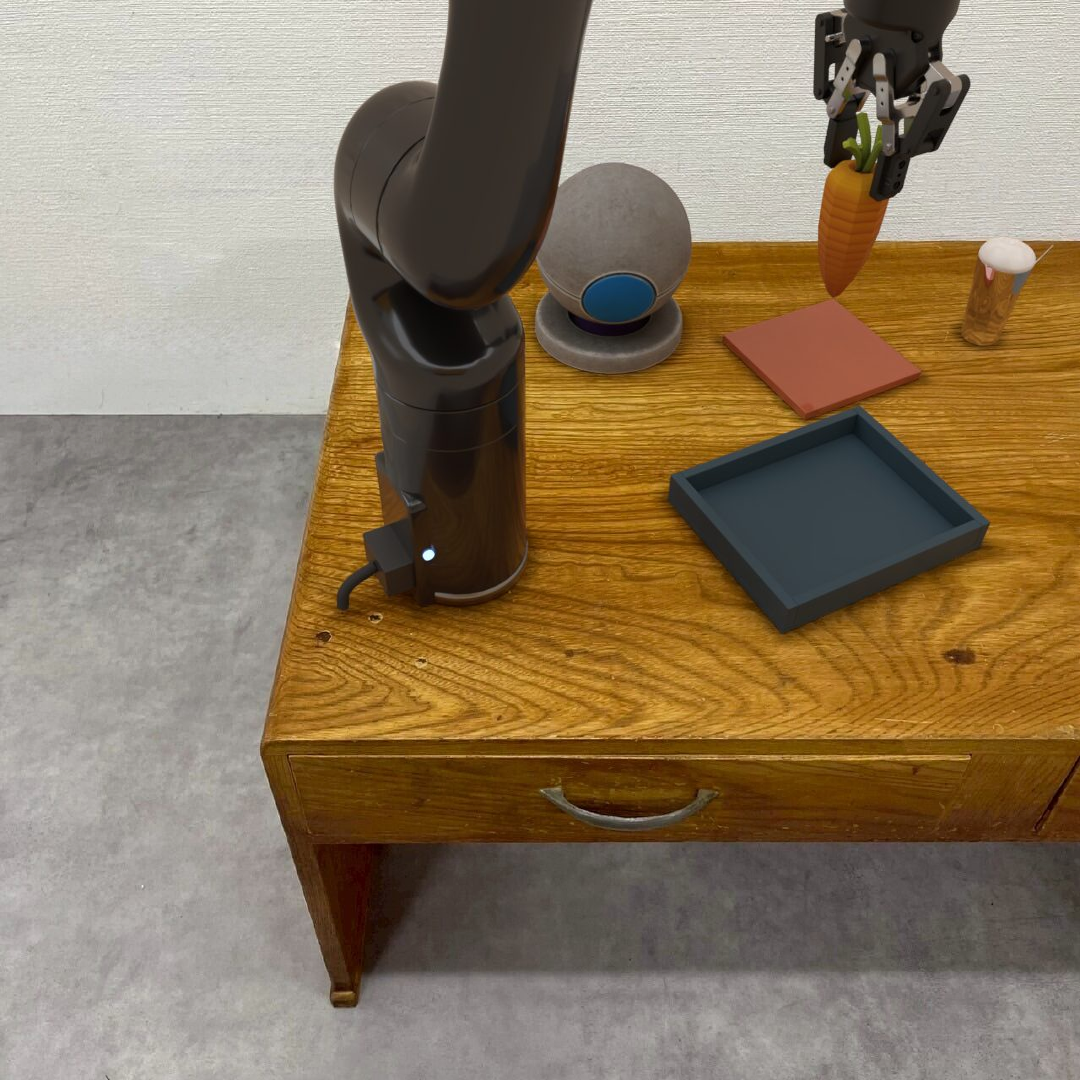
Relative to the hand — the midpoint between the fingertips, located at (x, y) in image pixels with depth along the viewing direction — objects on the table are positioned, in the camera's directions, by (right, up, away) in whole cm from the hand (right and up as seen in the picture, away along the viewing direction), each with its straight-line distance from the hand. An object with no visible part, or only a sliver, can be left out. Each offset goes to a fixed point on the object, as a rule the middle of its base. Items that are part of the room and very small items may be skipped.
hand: (859, 179), depth 84 cm
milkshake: (+15, -9, +15) cm, 23 cm away
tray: (-3, -26, -1) cm, 26 cm away
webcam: (-18, -9, +15) cm, 25 cm away
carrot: (0, -7, +8) cm, 11 cm away
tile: (0, -12, +12) cm, 17 cm away
